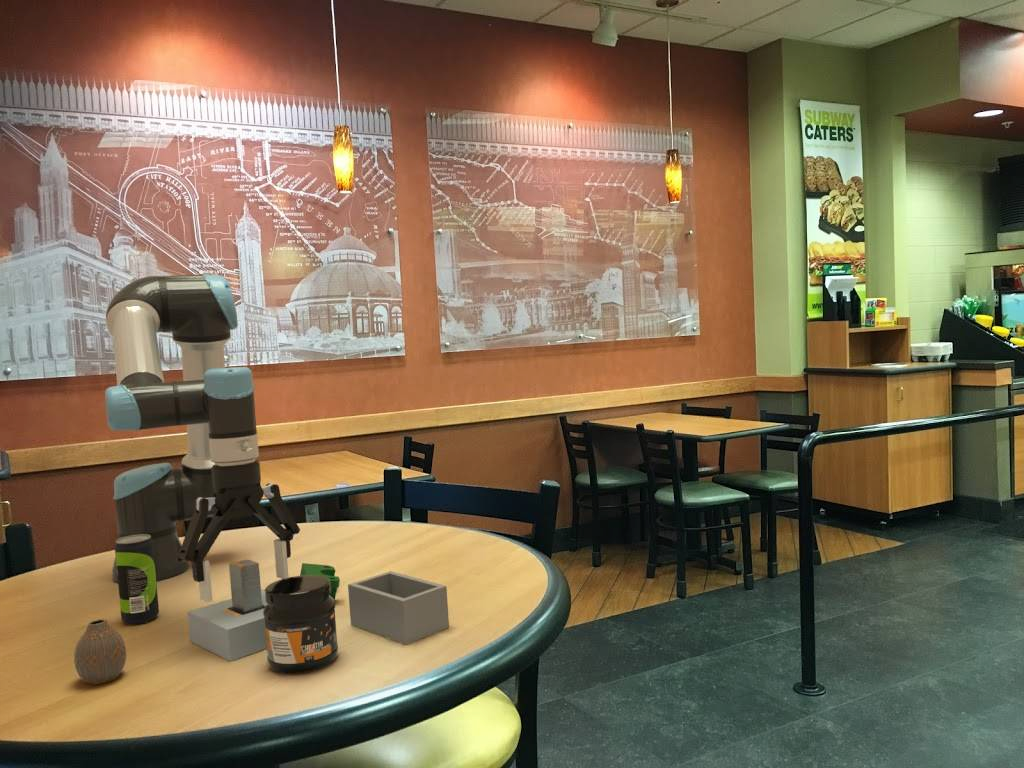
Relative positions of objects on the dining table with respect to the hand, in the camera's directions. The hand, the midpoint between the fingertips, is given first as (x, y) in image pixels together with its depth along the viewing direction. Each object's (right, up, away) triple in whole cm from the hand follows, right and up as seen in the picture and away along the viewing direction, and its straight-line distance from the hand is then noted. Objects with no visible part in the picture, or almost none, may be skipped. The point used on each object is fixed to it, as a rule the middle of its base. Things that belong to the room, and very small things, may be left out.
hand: (245, 588), depth 135 cm
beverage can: (-23, -9, +13) cm, 28 cm away
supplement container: (+12, -9, -11) cm, 19 cm away
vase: (-17, -10, -13) cm, 24 cm away
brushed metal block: (+1, -8, 0) cm, 8 cm away
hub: (+1, -8, +1) cm, 8 cm away
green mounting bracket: (+8, -7, +19) cm, 21 cm away
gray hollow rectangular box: (+25, -7, +2) cm, 26 cm away
